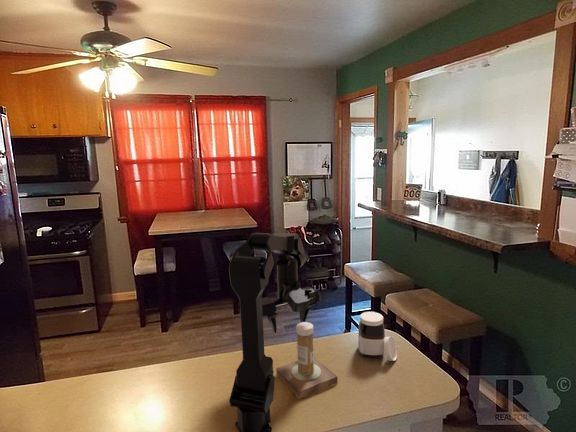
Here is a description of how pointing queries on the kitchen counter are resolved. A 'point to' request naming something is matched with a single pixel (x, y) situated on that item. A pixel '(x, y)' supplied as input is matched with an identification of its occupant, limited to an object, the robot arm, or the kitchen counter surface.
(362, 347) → the spread jar
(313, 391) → the walnut plinth
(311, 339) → the sprinkles bottle
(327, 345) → the kitchen counter surface
